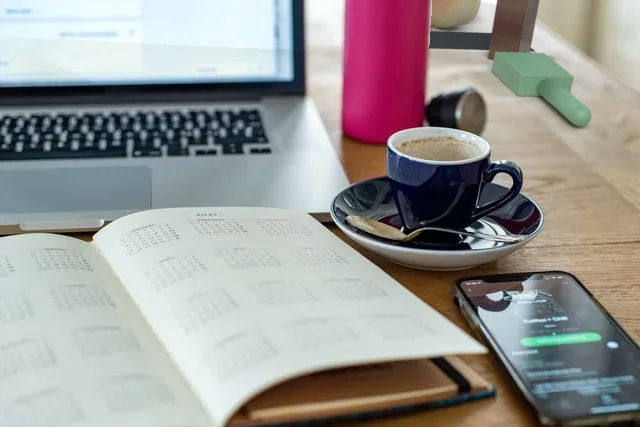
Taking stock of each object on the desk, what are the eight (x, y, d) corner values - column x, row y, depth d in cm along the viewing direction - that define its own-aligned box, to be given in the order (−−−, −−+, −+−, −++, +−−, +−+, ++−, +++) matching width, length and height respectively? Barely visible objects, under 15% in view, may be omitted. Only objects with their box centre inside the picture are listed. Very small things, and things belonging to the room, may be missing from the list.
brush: (489, 86, 109) (494, 51, 107) (537, 87, 111) (544, 52, 109) (549, 147, 92) (558, 108, 90) (606, 148, 93) (615, 109, 91)
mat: (512, 38, 131) (513, 33, 130) (535, 56, 123) (536, 51, 122) (408, 35, 128) (408, 30, 127) (424, 53, 120) (425, 48, 120)
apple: (408, 26, 132) (414, -28, 129) (434, 16, 139) (441, -36, 136) (460, 38, 128) (469, -17, 125) (485, 27, 135) (494, -25, 132)
